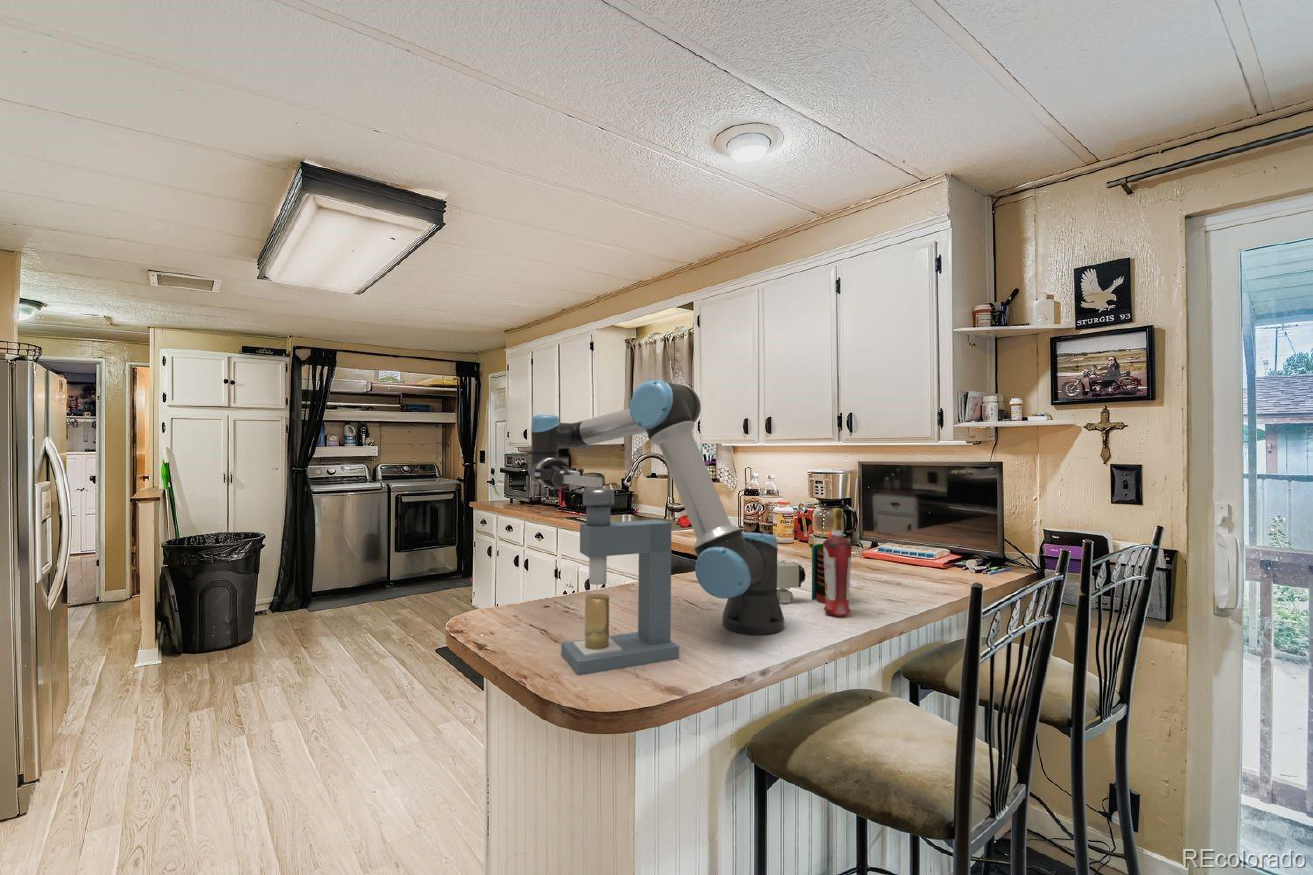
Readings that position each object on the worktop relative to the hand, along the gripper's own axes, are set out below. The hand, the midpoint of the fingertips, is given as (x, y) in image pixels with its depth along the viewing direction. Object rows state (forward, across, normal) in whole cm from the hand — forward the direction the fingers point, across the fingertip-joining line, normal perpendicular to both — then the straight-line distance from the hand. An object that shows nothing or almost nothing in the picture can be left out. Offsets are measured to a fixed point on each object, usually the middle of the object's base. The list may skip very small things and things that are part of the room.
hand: (576, 477), depth 134 cm
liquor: (+7, -70, -37) cm, 79 cm away
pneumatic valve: (-9, -64, -37) cm, 74 cm away
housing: (+14, -1, -34) cm, 37 cm away
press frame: (+14, -6, -37) cm, 40 cm away
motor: (-5, -77, -37) cm, 86 cm away
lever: (+7, +1, -5) cm, 8 cm away
